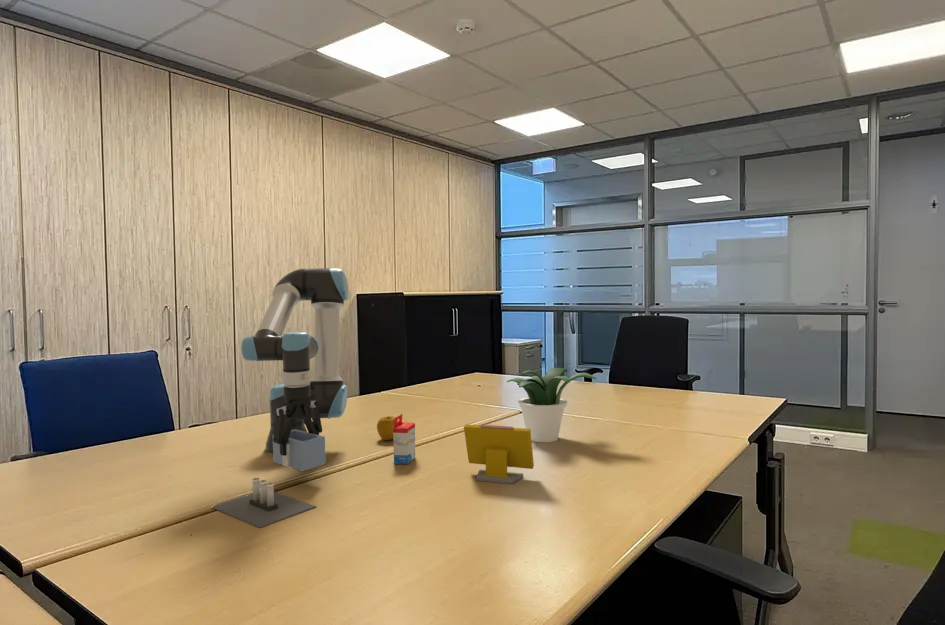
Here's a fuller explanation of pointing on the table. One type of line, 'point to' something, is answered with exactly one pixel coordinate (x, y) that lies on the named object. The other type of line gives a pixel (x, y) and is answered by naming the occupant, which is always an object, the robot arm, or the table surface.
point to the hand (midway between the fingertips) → (299, 461)
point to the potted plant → (544, 403)
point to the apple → (386, 427)
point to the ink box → (403, 441)
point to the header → (263, 506)
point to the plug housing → (303, 450)
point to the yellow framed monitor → (499, 451)
